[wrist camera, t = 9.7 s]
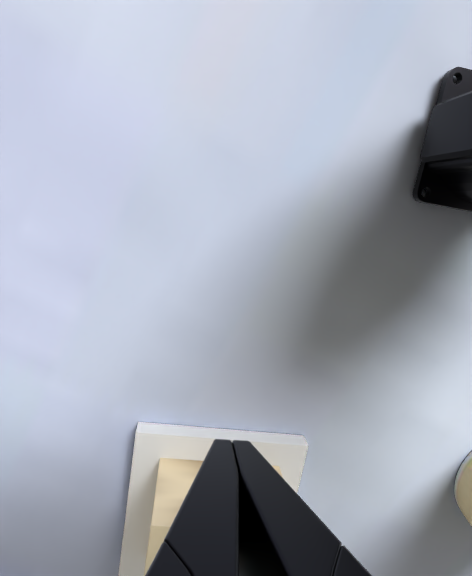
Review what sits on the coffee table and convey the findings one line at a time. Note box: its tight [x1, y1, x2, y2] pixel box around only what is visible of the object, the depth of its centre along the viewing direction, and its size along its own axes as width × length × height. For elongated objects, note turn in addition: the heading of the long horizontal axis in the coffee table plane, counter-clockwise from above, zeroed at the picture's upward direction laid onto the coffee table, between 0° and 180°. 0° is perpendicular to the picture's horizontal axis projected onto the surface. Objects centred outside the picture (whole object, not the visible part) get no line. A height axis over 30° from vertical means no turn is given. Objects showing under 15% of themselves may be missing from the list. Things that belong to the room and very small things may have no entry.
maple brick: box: [144, 458, 283, 576], centre depth 20 cm, size 7×7×4 cm
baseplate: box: [118, 422, 308, 576], centre depth 23 cm, size 10×10×1 cm
